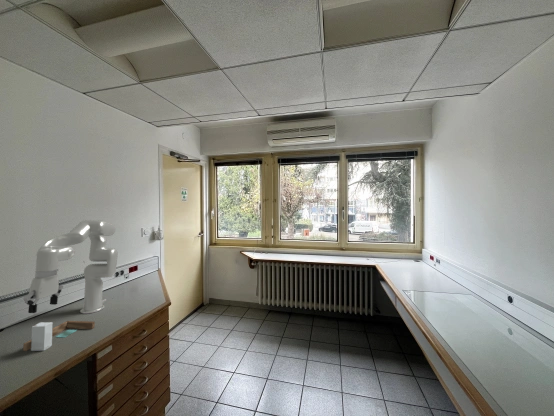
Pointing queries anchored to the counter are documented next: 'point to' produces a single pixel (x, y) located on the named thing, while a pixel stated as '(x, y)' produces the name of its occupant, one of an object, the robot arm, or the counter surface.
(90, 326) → the wooden corner frame
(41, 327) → the skincare box
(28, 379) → the counter surface
